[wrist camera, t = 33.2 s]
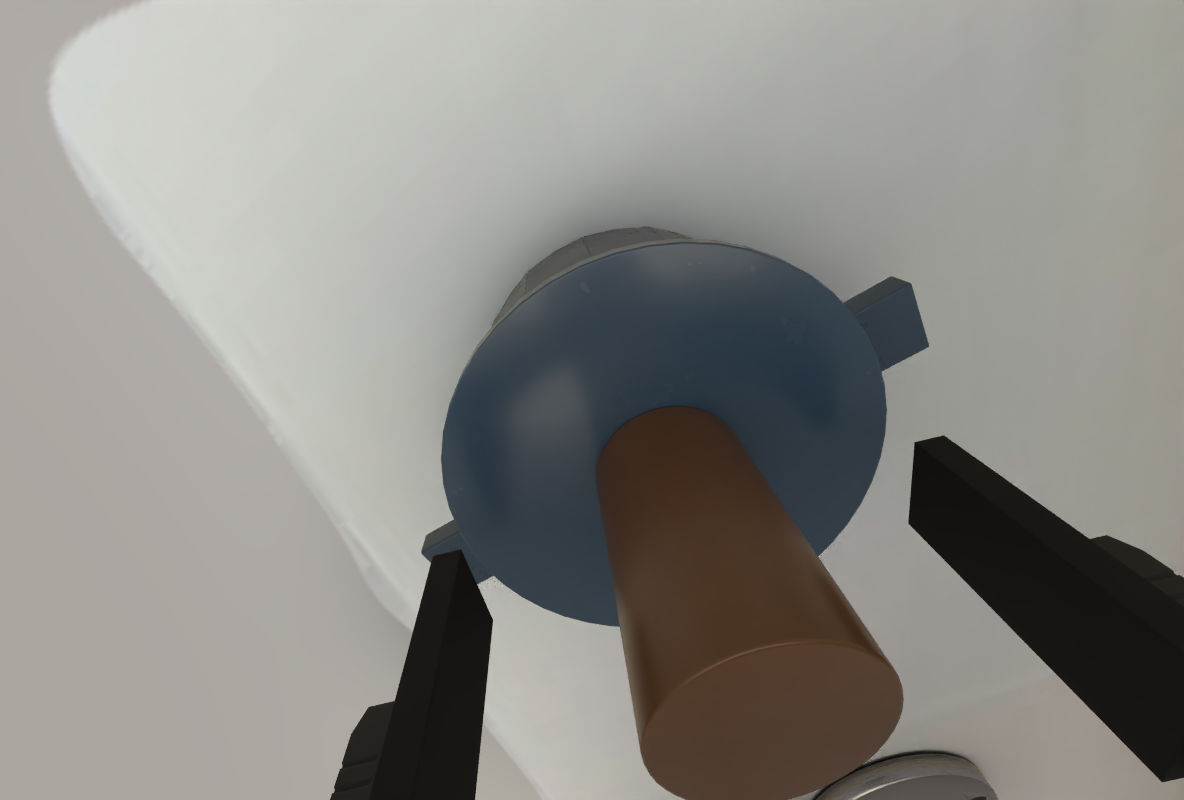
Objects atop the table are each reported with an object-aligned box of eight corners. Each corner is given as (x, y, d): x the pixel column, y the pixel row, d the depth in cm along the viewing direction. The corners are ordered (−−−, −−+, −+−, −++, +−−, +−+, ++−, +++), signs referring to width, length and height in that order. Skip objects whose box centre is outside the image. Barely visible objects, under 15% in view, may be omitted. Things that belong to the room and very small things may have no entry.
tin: (858, 384, 25) (977, 472, 18) (538, 552, 27) (538, 684, 21) (760, 121, 19) (878, 107, 13) (374, 364, 22) (302, 460, 15)
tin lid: (910, 495, 19) (1196, 764, 11) (588, 651, 21) (619, 975, 13) (777, 128, 13) (1179, 98, 5) (350, 395, 15) (128, 689, 7)
